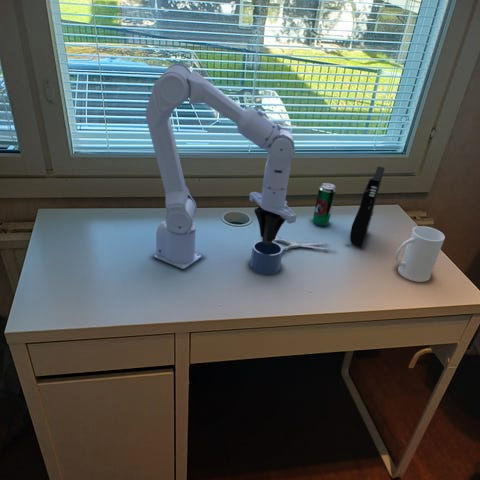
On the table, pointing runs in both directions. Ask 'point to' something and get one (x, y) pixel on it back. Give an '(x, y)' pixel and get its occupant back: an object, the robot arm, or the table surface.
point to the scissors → (296, 244)
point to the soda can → (324, 204)
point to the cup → (266, 257)
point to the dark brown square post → (265, 235)
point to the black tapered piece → (366, 209)
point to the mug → (420, 253)
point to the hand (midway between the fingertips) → (267, 238)
